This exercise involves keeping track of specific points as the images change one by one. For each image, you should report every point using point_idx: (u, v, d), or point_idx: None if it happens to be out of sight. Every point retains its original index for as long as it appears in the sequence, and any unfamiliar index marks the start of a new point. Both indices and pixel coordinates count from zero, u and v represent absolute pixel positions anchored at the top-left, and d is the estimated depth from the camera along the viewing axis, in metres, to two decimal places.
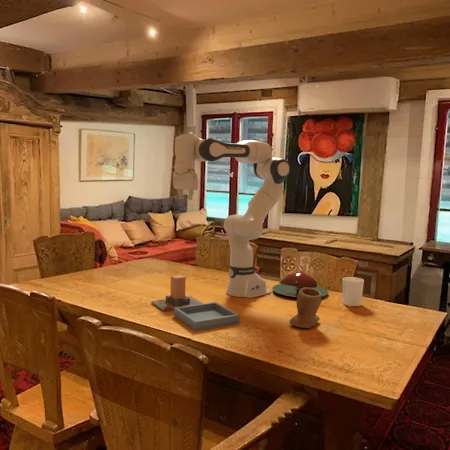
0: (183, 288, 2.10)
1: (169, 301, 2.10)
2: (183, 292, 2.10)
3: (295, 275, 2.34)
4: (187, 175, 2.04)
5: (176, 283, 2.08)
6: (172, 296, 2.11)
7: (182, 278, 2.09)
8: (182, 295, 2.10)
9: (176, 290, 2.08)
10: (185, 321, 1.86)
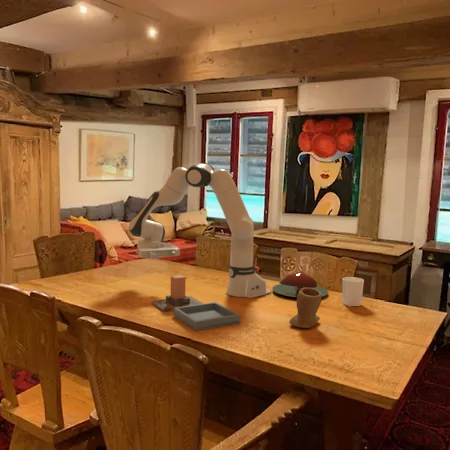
0: (183, 288, 2.10)
1: (169, 301, 2.10)
2: (183, 292, 2.10)
3: (295, 275, 2.34)
4: None
5: (176, 283, 2.08)
6: (172, 296, 2.11)
7: (182, 278, 2.09)
8: (182, 295, 2.10)
9: (176, 290, 2.08)
10: (185, 321, 1.86)
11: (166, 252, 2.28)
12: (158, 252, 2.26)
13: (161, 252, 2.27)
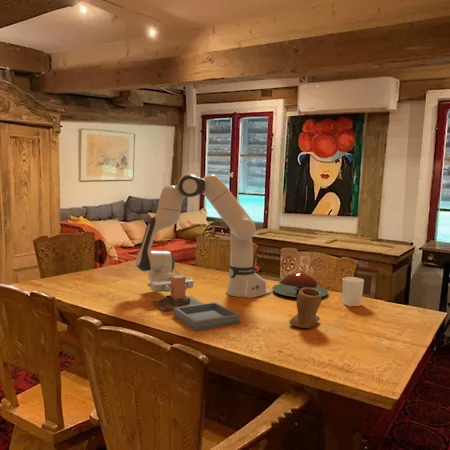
0: (183, 288, 2.10)
1: (169, 301, 2.10)
2: (183, 292, 2.10)
3: (295, 275, 2.34)
4: None
5: (176, 283, 2.08)
6: (172, 296, 2.11)
7: (182, 278, 2.09)
8: (182, 295, 2.10)
9: (176, 290, 2.08)
10: (185, 321, 1.86)
11: None
12: None
13: None
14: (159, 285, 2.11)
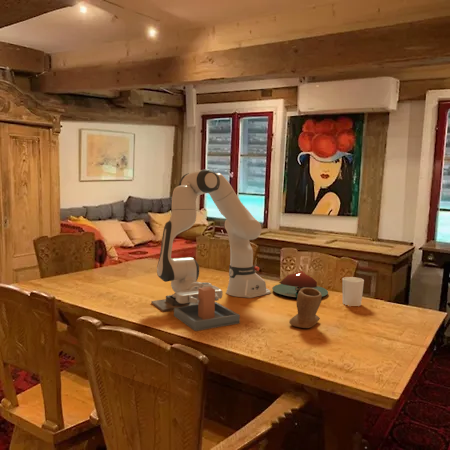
0: (212, 301, 1.90)
1: (169, 301, 2.10)
2: (212, 306, 1.90)
3: (295, 275, 2.34)
4: None
5: (205, 296, 1.88)
6: (200, 310, 1.91)
7: (211, 290, 1.89)
8: (212, 309, 1.90)
9: (204, 303, 1.88)
10: (185, 321, 1.86)
11: None
12: None
13: None
14: (186, 296, 1.91)
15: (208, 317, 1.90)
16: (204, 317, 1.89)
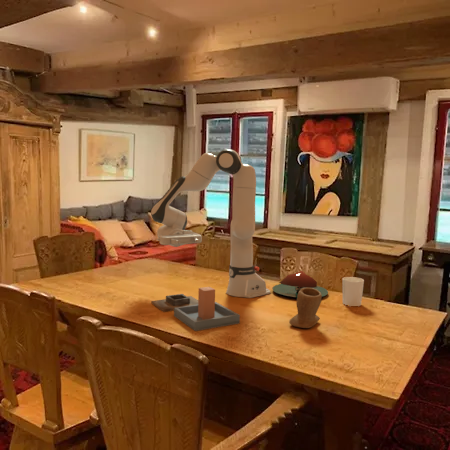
0: (212, 301, 1.90)
1: (169, 301, 2.10)
2: (212, 306, 1.90)
3: (295, 275, 2.34)
4: None
5: (205, 296, 1.88)
6: (200, 310, 1.91)
7: (211, 291, 1.89)
8: (212, 309, 1.90)
9: (205, 303, 1.88)
10: (185, 321, 1.86)
11: (188, 240, 2.20)
12: (180, 239, 2.18)
13: (183, 239, 2.19)
14: (168, 238, 2.14)
15: (208, 317, 1.90)
16: (204, 317, 1.89)
